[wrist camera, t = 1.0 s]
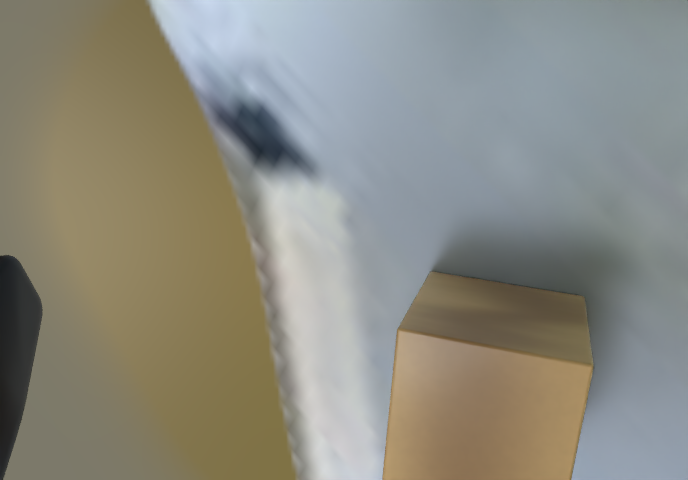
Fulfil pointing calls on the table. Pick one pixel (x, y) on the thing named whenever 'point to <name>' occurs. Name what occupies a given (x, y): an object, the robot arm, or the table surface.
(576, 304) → the block
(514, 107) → the table surface
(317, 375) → the table surface
